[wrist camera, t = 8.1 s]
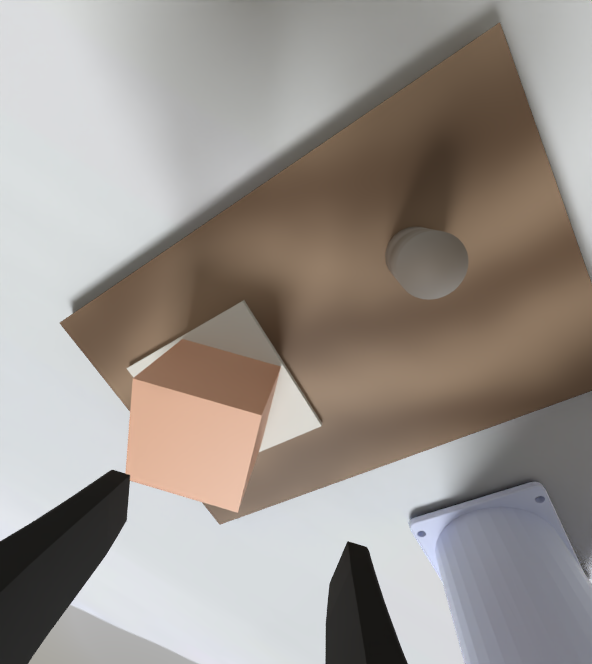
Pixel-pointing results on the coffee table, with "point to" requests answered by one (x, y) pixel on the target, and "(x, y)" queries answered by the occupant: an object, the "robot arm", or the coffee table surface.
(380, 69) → the coffee table surface
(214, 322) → the mat
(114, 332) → the post board
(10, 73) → the coffee table surface
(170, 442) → the salmon pink cube
